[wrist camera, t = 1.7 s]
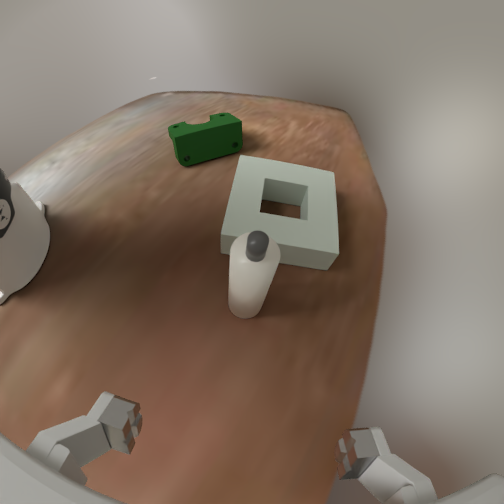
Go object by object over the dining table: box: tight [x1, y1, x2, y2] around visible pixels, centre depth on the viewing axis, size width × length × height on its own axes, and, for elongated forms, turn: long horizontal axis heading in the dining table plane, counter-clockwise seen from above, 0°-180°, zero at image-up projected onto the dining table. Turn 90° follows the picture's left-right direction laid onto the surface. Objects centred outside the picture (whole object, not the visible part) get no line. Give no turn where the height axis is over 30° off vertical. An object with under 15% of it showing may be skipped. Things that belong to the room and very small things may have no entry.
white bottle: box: [228, 230, 280, 319], centre depth 26 cm, size 4×4×14 cm
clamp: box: [168, 113, 243, 166], centre depth 43 cm, size 12×6×9 cm, turn 111°
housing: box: [221, 155, 339, 270], centre depth 37 cm, size 14×14×4 cm
